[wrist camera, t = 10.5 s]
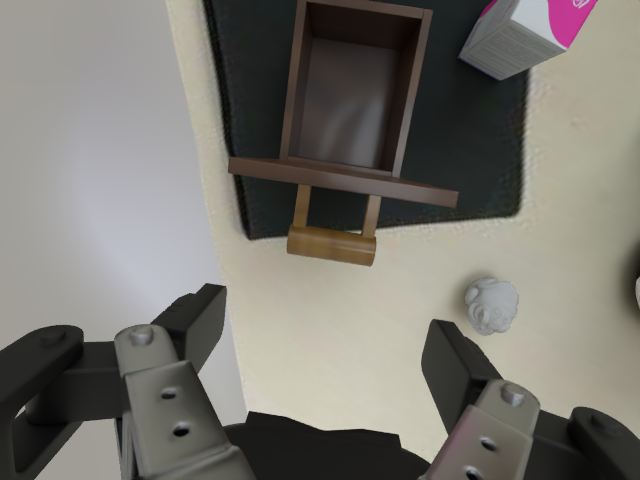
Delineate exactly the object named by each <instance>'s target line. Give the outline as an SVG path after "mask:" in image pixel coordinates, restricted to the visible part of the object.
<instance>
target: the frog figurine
mask: <svg viewBox="0 0 640 480" xmlns="http://www.w3.org/2000/svg"><path fill="white" fill-rule="evenodd" d="M466 292H467V293H466V295H465V304H466V305H467V306H466V307H465V309H466V315H467V317H468V319H469V321H470V323H471V325H472V326H473V328H474V329H475V331H476V332H478V333H479V334H481V335H490V334H493V333H494V332H497V333H503V332H506V331H507V330H508V329H509V328H510V324H511V322H512V320H513V318H515V316H516V314H517V305H518V293H517V290H516V288H515V287H514V285H513V284H512V283H511V282H507V281H502V282H500V281H499V280H497V279H495V278H492V277H485V278H483V279H479V280H477V281H475V282H473V283H472V284H471V285H470V286H469V288H468V290H467V291H466Z"/></svg>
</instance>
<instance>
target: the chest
mask: <svg viewBox="0 0 640 480" xmlns="http://www.w3.org/2000/svg"><path fill="white" fill-rule="evenodd" d="M432 14H433V10H428V9H421V8H415V7H408V6H401V5H395V4H388V3H382V2H375V1H368V0H298V2H297V10H296V19H295V27H294V36H293V44H292V53H291V62H290V70H289V79H288V87H287V96H286V104H285V113H284V121H283V130H282V139H281V147H280V156H279V159H281V160H288V161H294V162H301V163H307V164H314V165H320V166H327V167H333V168H340V169H346V170H353V171H359V172H366V173H372V174H379V175H385V176H392V177H398V178H399V177H400V172H401V167H402V162H403V157H404V152H405V147H406V142H407V138H408V133H409V128H410V123H411V118H412V113H413V108H414V103H415V98H416V93H417V88H418V83H419V78H420V74H421V69H422V64H423V59H424V54H425V49H426V44H427V39H428V34H429V29H430V24H431V19H432Z"/></svg>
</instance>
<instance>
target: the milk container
mask: <svg viewBox="0 0 640 480" xmlns="http://www.w3.org/2000/svg"><path fill="white" fill-rule="evenodd" d="M635 295H636V299H637V303H638V306H639V308H640V266H639V268H638V271H637V275H636V282H635Z"/></svg>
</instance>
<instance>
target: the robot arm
mask: <svg viewBox="0 0 640 480" xmlns="http://www.w3.org/2000/svg"><path fill="white" fill-rule="evenodd" d="M226 295H227V288H226V286H221V285H215V284H209V283H206V284H205V285H204V286H203V287H202V288H201V289H200V290H199V291H198V292H197V293H196V294H192V293H189V294H187V295H184V296H182V297H179V298H178V299H177V300H175V301H174V303H172V304H171V306H169V307H168V308H167V309H166V310H165V311H163V312H162V313H161V314H160V315H159V316H158V317H157V318H156V319H154V320H153V321H152V322H151V323H150V324H142V325H135V326H132V327H128V328H125V329H123V330H122V331H120V332H119V333H118V334H117V335H116V336H115V338H114V341H109V342H84V336H83V335H84V334H83V331H82V329H80V328H78V327H76V326H71V325H56V326H49V327H44V328H40V329H38V330H35V331H32V332H30V333H28V334H26V335H25V336H23V337H22V338H20V339H18V340H17V341H15V342H14V343H12V344H11V345H9V346H7V347H6V348H4V349H2V350H1V351H0V480H34V479H35V478H36V477H37V476H38V474H39V473H40V472H41V471H42V470H43V469H44V468H45V466H46V465H47V464H48V463H49V462H50V461H51V459H52V458H53V457H54V456H55V455H56V454H57V452H58V451H59V450H60V449H61V448H62V446H63V445H64V444H65V443H66V442H67V441H68V440H69V438H70V437H71V436H72V435H73V433H75V431H76V430H77V429H78V428H79V427H80V426H81V424H82V423H83V421H90V420H101V419H112V418H114V425H115V432H116V439H117V447H118V455H119V462H120V470H121V480H640V440H639V439H638V438H637V437H636V436H635V435H634V434H633V433H632V432H631V431H630V430H629V429H628V428H627V427H626V426H624V425H623V424H622V423H620V422H619V421H617V420H616V419H614V418H612V417H610V416H609V415H607V414H604V413H602V412H600V411H597V410H595V409H591V408H587V407H575V408H574V409H573V411H572V413H571V416H570V418H569V419H566V418H563V417H560V416H557V415H554V414H551V413H549V412H546V411H543V410H541V409H540V403H539V401H538V399H537V398H536V397H535V396H534V395H533V394H532V393H531V392H529V391H528V390H526V389H525V388H523V387H522V386H520V385H518V384H515V383H513V382H510V381H507V380H504V379H503V378H502V376H501V375H500V374H499V373H498V371H497V370H496V369H495V367H494V366H493V365H492V363H490V362H489V359H488V358H487V357H486V355H484V353H483V352H482V350H481V349H480V348H479V346H478V345H477V344H475V343H474V342H473V341H471V340H470V339H469V338H467V337H464V336H463V334H462V333H461V332H460V330H459V329H458V327H457V326H456V325H455V323H454V322H449V321H443V320H436V319H433V320H432V321H431V323H430V326H429V330H428V334H427V338H426V342H425V346H424V350H423V354H422V360H421V367H422V372H423V375H424V377H425V380H426V382H427V384H428V387H429V389H430V392H431V394H432V397H433V399H434V402H435V404H436V406H437V409H438V411H439V414H440V416H441V419H442V421H443V424H444V426H445V428H446V431H447V433H448V436H449V437H448V438H447V440H446V441H445V443H444V444H443V446H442V448H441V449H440V451H439V452H438V454H437V456H436V457H435V459H434V460H433V462H432V464H430V463H429V462H427V461H426V460H424V459H423V458H421V457H419V456H418V455H416V454H414V453H412V452H410V451H408V450H406V449H403V448H402V447H401V443H400V439H399V435H397V434H391V433H385V432H378V431H372V430H366V429H350V430H331V431H324V430H320V429H317V428H314V427H312V426H309V425H306V424H304V423H301V422H298V421H296V420H293V419H290V418H287V417H284V416H277V415H271V414H265V413H258V412H252V411H249V413H248V416H247V419H246V422H245V423H239V424H232V425H227V426H223V427H222V425H221V423H220V421H219V419H218V417H217V414H216V412H215V410H214V408H213V406H212V404H211V402H210V400H209V398H208V396H207V394H206V392H205V390H204V388H203V385H202V383H201V381H200V379H199V377H198V375H197V374H198V373H199V371H200V370H201V368H202V366H203V365H204V363H205V362H206V360H207V358H208V357H209V355H210V354H211V352H212V350H213V349H214V347H215V346H216V344H217V343H218V341H219V339H220V337H221V335H222V331H223V326H224V317H225V307H226ZM24 405H25V410H24V412H22V413H21V414H20V415H19V416H18V417H17V418H15V417H16V415H17V414H18V412H19V410H20V409H21V408H22V407H23V406H24Z"/></svg>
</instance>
